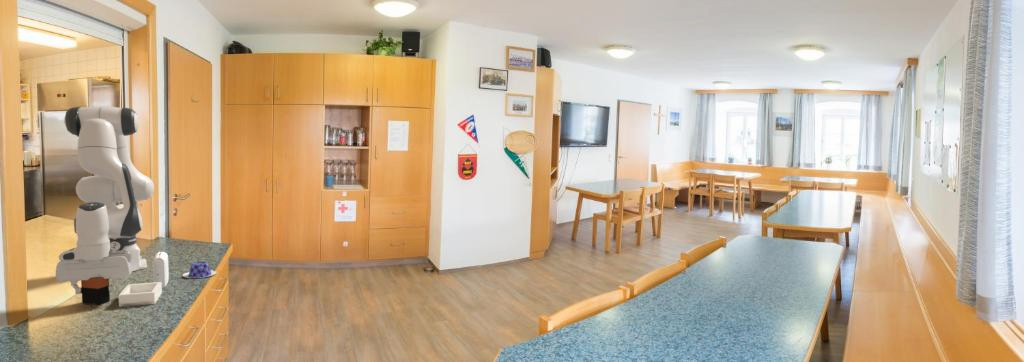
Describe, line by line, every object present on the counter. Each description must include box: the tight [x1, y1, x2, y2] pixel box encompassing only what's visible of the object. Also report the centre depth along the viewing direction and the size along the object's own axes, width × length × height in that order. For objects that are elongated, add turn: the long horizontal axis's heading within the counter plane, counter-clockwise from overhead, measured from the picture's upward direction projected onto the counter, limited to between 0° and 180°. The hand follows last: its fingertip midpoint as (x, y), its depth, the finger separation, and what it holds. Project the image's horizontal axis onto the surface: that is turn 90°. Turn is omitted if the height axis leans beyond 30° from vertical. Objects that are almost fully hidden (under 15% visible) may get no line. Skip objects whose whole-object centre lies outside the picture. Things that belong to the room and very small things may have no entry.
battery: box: [80, 275, 111, 306], centre depth 183 cm, size 4×7×10 cm, turn 81°
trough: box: [118, 282, 163, 308], centre depth 187 cm, size 13×10×4 cm
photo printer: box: [152, 251, 170, 289], centre depth 205 cm, size 10×4×12 cm, turn 25°
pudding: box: [182, 261, 217, 279], centre depth 219 cm, size 12×12×5 cm
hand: (95, 292), depth 183 cm, fingers closed on battery, 8 cm apart
